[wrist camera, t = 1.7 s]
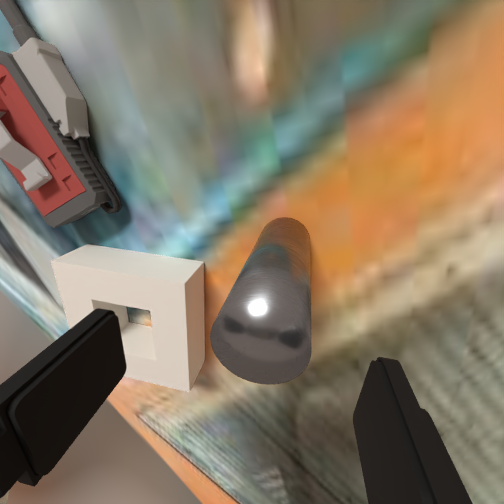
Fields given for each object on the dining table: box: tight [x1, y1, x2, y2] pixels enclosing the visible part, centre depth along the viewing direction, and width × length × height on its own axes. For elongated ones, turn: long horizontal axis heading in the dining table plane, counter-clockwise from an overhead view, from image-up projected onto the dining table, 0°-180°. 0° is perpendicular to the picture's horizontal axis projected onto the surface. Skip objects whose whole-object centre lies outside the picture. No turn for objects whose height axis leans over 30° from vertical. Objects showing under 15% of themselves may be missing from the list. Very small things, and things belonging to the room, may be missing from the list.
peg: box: [210, 217, 311, 384], centre depth 15 cm, size 4×4×12 cm
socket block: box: [51, 244, 205, 392], centre depth 25 cm, size 12×12×4 cm
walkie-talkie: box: [0, 0, 121, 228], centre depth 19 cm, size 9×4×20 cm
